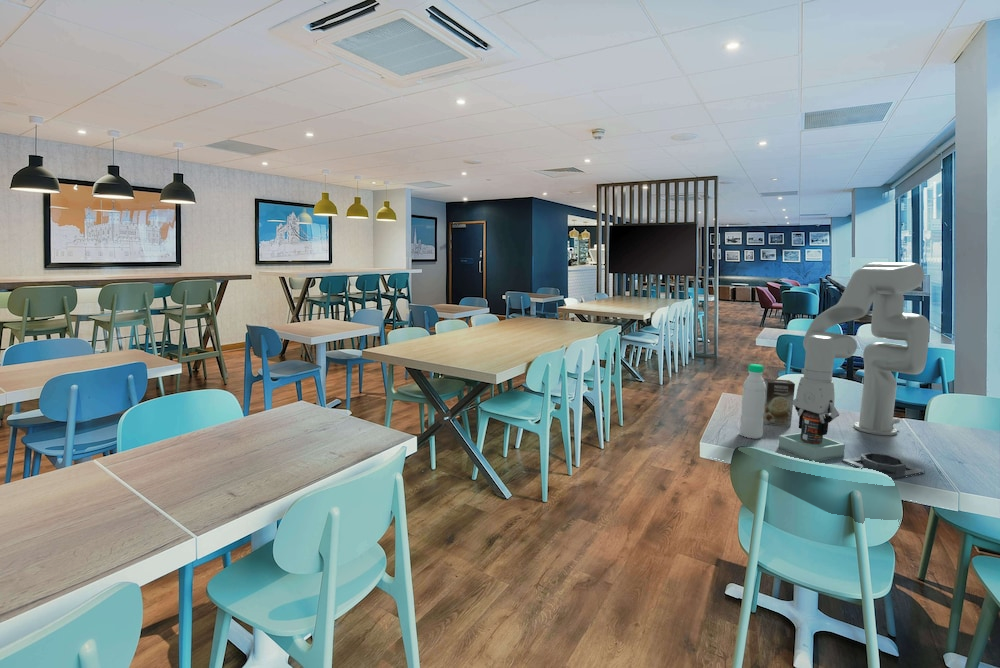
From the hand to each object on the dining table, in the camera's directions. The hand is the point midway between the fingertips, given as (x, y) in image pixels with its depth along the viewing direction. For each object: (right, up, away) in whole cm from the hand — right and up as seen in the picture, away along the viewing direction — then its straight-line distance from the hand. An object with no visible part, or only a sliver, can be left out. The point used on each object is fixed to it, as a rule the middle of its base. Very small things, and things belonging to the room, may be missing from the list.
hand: (812, 430), depth 162 cm
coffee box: (+4, -3, +30) cm, 30 cm away
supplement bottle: (0, -4, +1) cm, 4 cm away
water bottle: (-12, -5, +16) cm, 20 cm away
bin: (0, -7, +1) cm, 7 cm away
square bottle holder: (+14, -9, -11) cm, 20 cm away
